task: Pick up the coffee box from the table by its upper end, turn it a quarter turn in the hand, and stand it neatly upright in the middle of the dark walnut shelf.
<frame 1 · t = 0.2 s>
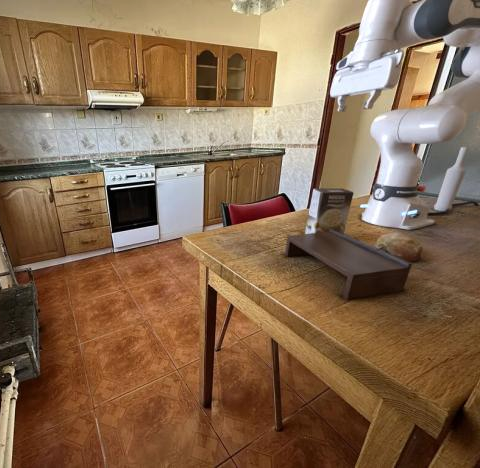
hand: (353, 110, 79), 39 cm above the table, tool pointing down, fingers open, 8 cm apart
shelf: (335, 270, 65), on the table
bread roll: (396, 254, 72), on the table
bottle: (441, 210, 108), on the table
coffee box: (322, 238, 85), on the table
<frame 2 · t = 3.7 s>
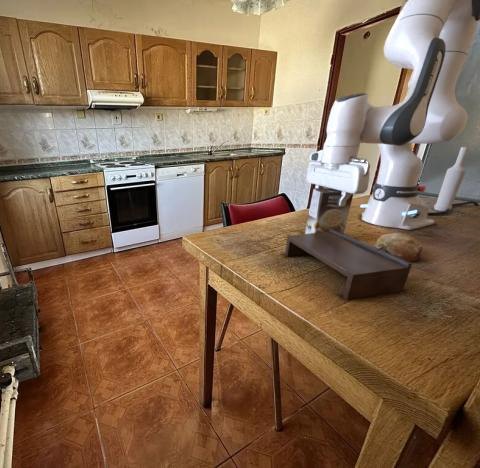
hand: (329, 202, 80), 12 cm above the table, tool pointing down, fingers closed on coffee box, 7 cm apart
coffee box: (322, 238, 85), on the table, touching gripper
everything else where it was.
when the fingers open (18 cm above the table, at t = 13.2 s): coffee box stays where it is, resting on shelf.
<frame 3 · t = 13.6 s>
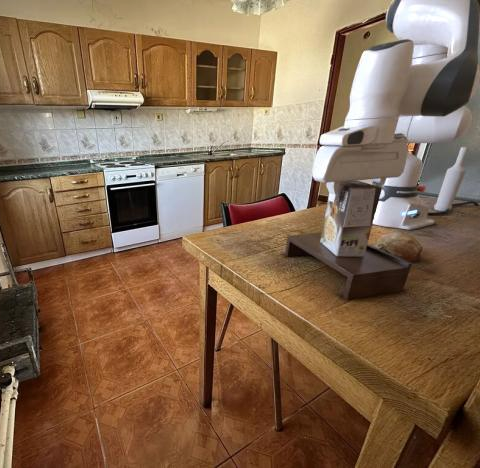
hand: (352, 199, 58), 19 cm above the table, tool pointing down, fingers open, 8 cm apart
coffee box: (340, 249, 63), point 6 cm above the table, touching shelf
everything else where it was.
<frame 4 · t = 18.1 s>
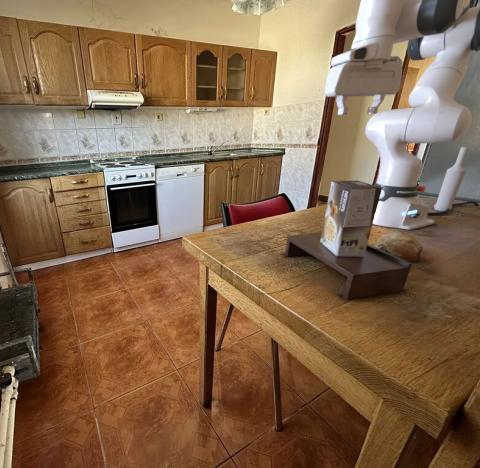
hand: (357, 114, 71), 37 cm above the table, tool pointing down, fingers open, 8 cm apart
nothing on the table moved.
at the end: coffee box inside the target area on the shelf (0.2 cm from its centre), point 5.8 cm above the shelf's base; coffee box tilted 0°; the gripper is holding nothing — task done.
